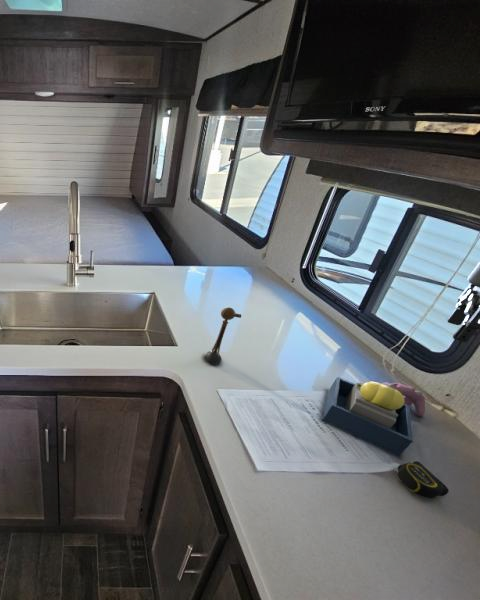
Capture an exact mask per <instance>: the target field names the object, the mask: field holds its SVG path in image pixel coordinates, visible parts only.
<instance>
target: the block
mask: <svg viewBox="0 0 480 600" xmlns="http://www.w3.org/2000/svg"><path fill="white" fill-rule="evenodd" d="M354 384H355V385H354V387H353V388H352V390H351V391H350V393H349V394H348V396H347V397H346V399H345V401H344V409H346V410H348V411H351V412H353V413H355V414H357V415H360V416H362V417H364V418H366V419H369V420H371V421H373V422H375V423H378V424H380V425H382V426H384V427H387V428H389V429H390V428H391V427H392V426H393V425H394V423H395V422H396V418H397V417H398V414H397V413H396V410H390V409H386V408H383V407H381V406H379V405H376V404H374V403H371V402H369V401H367V400H366V399H364V398H363V397H362V395H361V393H360V388H361V386H362V385H363V384H364V383H362V382H359V381H356V382H355V383H354Z"/></svg>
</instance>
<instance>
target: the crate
mask: <svg viewBox="0 0 480 600" xmlns="http://www.w3.org/2000/svg"><path fill="white" fill-rule="evenodd" d="M355 384H356V383H354V382H352V381H349V380H347V379H345V378H342V377H340V376H337V377H336V378H335V379H334V381H333V383H332V384H331V386H330V388H329V389H328V391H327V396H326V401H325V405H324V410H323V415H322V421H323V422H325V423H328V424H330V425H331V426H334V427H336V428H338V429H339V430H342V431H345V432H347V433H348V434H351V435H353V436H355V437H357V438H359V439H361V440H363V441H364V442H365V441H366V442H368V443H369V444H371V445H374V446H376V447H377V448H381V449H382V450H384V451H387V452H388V453H390V454H392V455H395V456H397V457H400V456H401V455H402V454H403V453H404V452H405V451H406V450H407V449H408V447H410V445H411V444H412V443H413V442H414V438H413V437H414V436H413V428H412V427H413V426H412V416H411V405H410V406H409V405H406V404H404V405H403V406H402V407H401V408H399V409H396V413H397V414H398V417H397V418H396V422H395V423H394V425H393V426H392V427H391V428H390V429H389V428H387V427H384V426H382V425H380V424H378V423H375V422H373V421H371V420H369V419H366V418H364V417H362V416H360V415H357V414H355V413H353V412H351V411H348V410H346V409H344V401H345V399H346V397H347V396H348V394H349V393H350V391H351V390H352V388H353V387H354V385H355Z"/></svg>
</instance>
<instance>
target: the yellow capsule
mask: <svg viewBox="0 0 480 600" xmlns="http://www.w3.org/2000/svg"><path fill="white" fill-rule="evenodd" d="M362 384H363V385H362V386H361V388H360V393H361V395H362V397H363V398H364V399H366V400H367V401H369V402H371V403H374V404H376V405H379V406H381V407H383V408H386V409H390V410H396V409H399V408H401V407H402V406H403V405H404V402H405V400H404V396H403V395H402V394H401V393H400V392H399V391H397V390H395V389H393V388H391V387H388V386H385V385H383V384H382V383H381V382H377V381H367V382H364V383H362Z"/></svg>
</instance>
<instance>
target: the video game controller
mask: <svg viewBox="0 0 480 600" xmlns="http://www.w3.org/2000/svg"><path fill="white" fill-rule="evenodd" d="M381 384H383V385H385V386H388V387H391V388H393V389H395V390H397V391H399V392H400V393H401V394H402V395H403V397H404V400H405V402H404V404H406V405H409V406H410V407H411V405H413V406H414V409H415V412H416V414H417V416H418V417H423V416H424V414H425V413H426V398H425V395H424V394H423V392H421V391H420V390H419V389H416V388H414V387H412V386H410V385H408V384H404V383H399V382H391V381H389V382H387V381H385V382H382V383H381Z"/></svg>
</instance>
